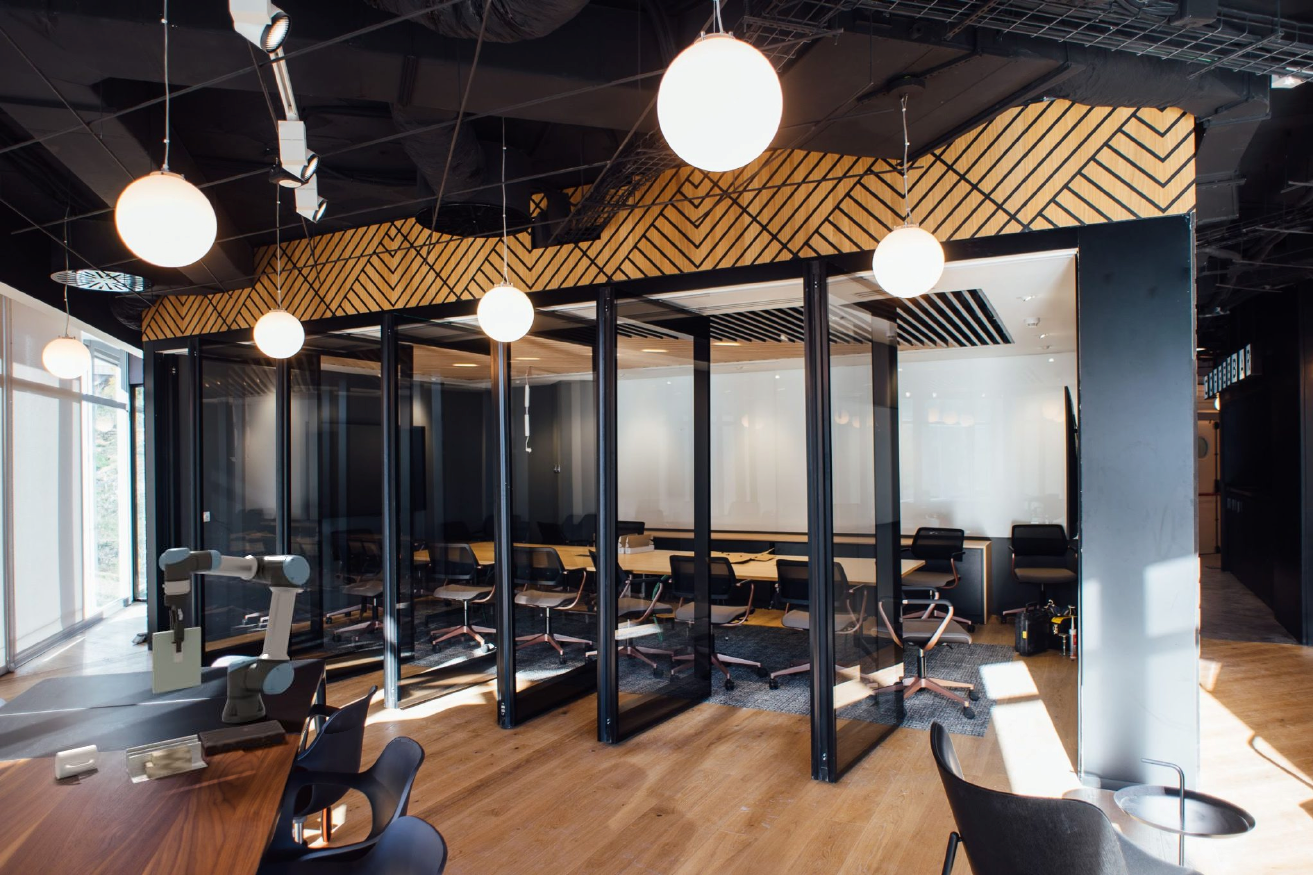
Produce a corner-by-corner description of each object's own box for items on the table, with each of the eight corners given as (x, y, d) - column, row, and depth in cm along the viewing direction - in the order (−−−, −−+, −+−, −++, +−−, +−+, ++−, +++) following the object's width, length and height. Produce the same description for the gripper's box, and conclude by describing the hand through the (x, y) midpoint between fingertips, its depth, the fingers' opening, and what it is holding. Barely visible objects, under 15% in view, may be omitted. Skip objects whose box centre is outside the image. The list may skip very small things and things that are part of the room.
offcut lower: (188, 762, 249) (188, 753, 250) (191, 766, 246) (191, 757, 246) (145, 772, 241) (145, 763, 242) (147, 776, 238) (147, 767, 238)
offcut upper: (187, 754, 249) (187, 744, 249) (190, 758, 245) (190, 748, 245) (151, 762, 242) (151, 752, 243) (153, 766, 239) (153, 756, 239)
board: (199, 683, 268) (199, 626, 269) (200, 684, 266) (200, 627, 267) (152, 692, 258) (152, 633, 259) (153, 693, 257) (153, 634, 258)
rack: (196, 755, 259) (196, 734, 260) (207, 769, 246) (207, 747, 246) (125, 770, 246) (126, 748, 247) (133, 786, 233) (133, 763, 233)
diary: (285, 745, 270) (285, 730, 271) (204, 761, 255) (205, 746, 256) (275, 731, 285) (275, 717, 286) (198, 746, 270) (198, 732, 271)
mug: (54, 775, 244) (55, 750, 245) (92, 766, 251) (93, 742, 252) (61, 784, 236) (62, 758, 236) (100, 775, 243) (101, 750, 243)
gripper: (160, 592, 267) (160, 659, 266) (168, 596, 256) (168, 666, 254) (185, 589, 272) (185, 655, 271) (194, 593, 261) (194, 662, 259)
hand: (177, 660), depth 263 cm, fingers closed on board, 2 cm apart
